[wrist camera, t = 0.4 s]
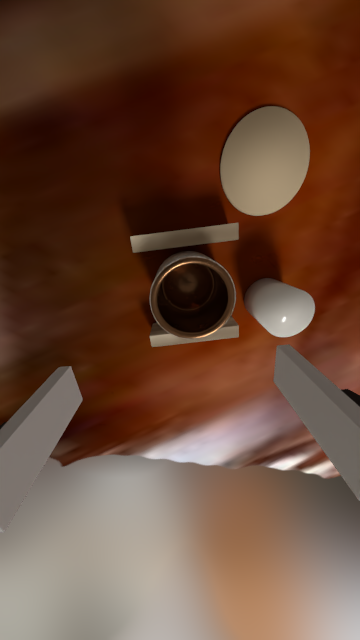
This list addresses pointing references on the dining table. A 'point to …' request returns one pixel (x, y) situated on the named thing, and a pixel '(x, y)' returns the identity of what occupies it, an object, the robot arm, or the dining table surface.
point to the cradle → (179, 240)
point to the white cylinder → (279, 307)
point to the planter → (192, 295)
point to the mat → (264, 161)
